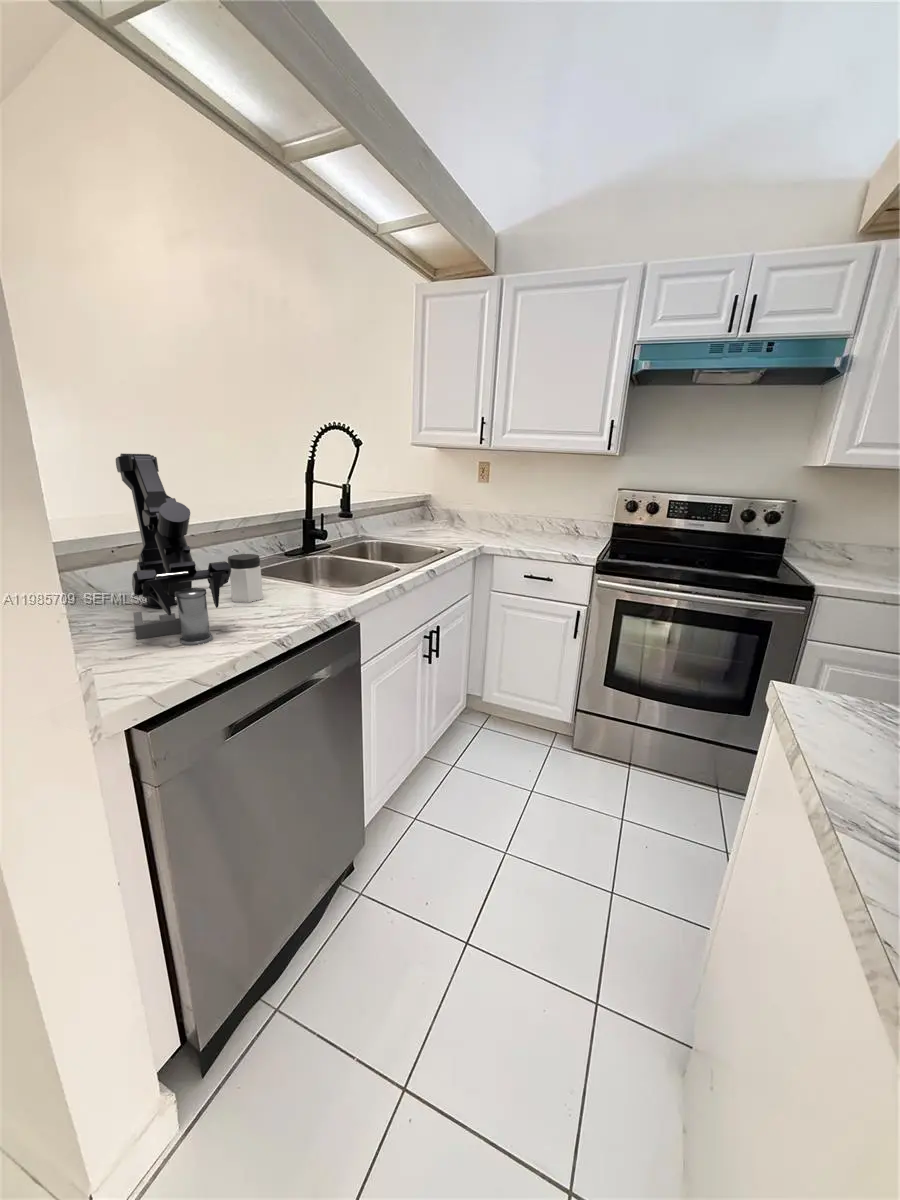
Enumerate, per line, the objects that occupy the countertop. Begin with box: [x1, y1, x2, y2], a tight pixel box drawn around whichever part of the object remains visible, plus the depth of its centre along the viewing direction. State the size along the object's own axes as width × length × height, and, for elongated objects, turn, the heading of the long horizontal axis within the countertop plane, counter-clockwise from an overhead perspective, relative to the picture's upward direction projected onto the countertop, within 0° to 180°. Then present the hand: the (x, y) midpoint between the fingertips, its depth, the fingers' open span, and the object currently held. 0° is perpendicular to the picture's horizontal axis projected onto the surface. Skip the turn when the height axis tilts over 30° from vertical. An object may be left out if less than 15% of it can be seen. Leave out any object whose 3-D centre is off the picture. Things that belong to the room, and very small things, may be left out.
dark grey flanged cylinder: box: [175, 587, 214, 646], centre depth 106 cm, size 6×6×11 cm
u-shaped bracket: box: [133, 611, 181, 640], centre depth 114 cm, size 11×13×4 cm
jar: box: [227, 553, 264, 603], centre depth 137 cm, size 9×8×12 cm
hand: (194, 610), depth 105 cm, fingers open, 9 cm apart
